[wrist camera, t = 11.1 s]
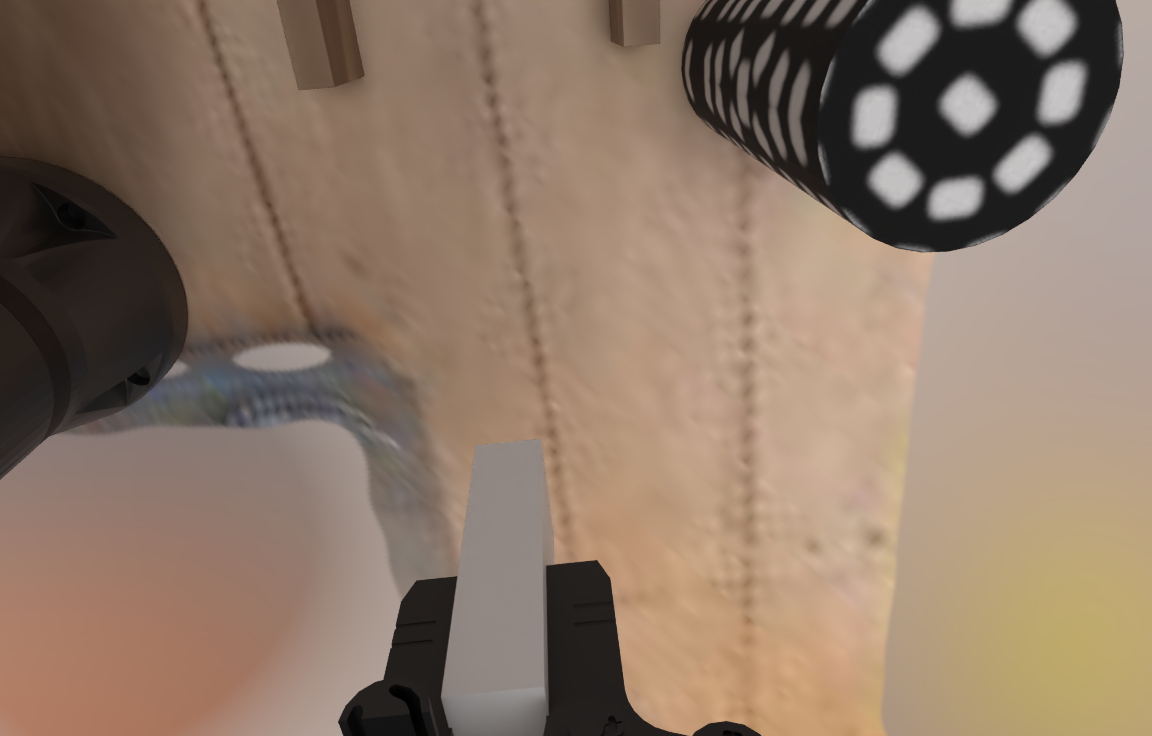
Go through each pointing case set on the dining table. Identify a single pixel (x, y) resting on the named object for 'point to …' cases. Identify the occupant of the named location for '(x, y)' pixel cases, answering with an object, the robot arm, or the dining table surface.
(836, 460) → the dining table surface
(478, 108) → the dining table surface
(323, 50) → the pair of brown blocks
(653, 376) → the dining table surface
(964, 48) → the white-spotted black cylinder
